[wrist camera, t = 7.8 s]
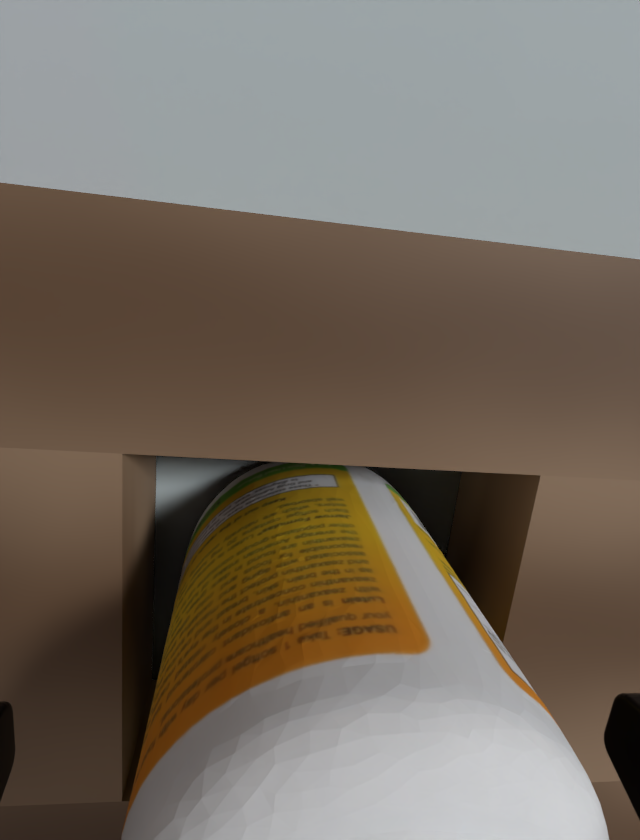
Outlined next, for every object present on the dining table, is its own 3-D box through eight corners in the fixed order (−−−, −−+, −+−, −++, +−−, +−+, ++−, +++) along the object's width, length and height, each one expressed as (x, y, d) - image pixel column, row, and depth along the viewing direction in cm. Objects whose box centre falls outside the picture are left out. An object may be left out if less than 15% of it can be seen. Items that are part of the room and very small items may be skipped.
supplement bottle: (149, 614, 12) (-200, 1776, 3) (248, 410, 11) (231, 1154, 2) (352, 682, 13) (587, 1637, 4) (458, 504, 12) (1108, 1229, 3)
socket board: (620, 777, 15) (704, 893, 12) (-136, 807, 12) (-252, 966, 10) (776, 290, 12) (945, 296, 9) (-242, 172, 9) (-481, 124, 6)
